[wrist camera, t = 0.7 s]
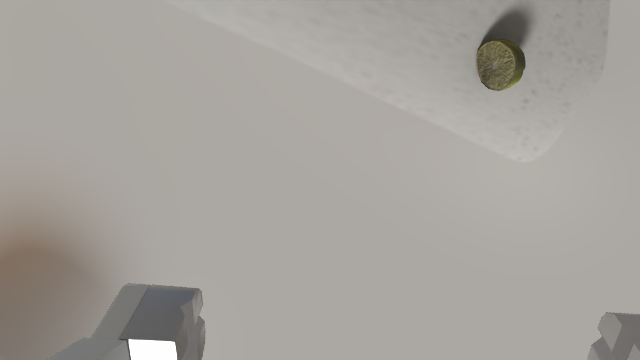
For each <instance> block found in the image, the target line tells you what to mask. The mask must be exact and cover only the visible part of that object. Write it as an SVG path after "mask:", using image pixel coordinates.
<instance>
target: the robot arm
mask: <svg viewBox="0 0 640 360" xmlns="http://www.w3.org/2000/svg"><path fill="white" fill-rule="evenodd" d="M202 306H203V300H202V292H201V290H200V289H199V288H187V287H175V286H162V285H146V284H132V283H128V284H126V285H125V286H123V287H122V289H121V290H120V292H119V293H118V295H117V297H116V298H115V300H114V302H113V303H112V304H111V306H110V308H109V309H108V311H107V313H106V314H105V316H104V317H103V319H102V321H101V323H100V324H99V325H98V327H97V328H96V330H95V332H94V333H93V335H92V337H91V338H82V339H80V340H79V341H77V342H75V343H73V344H72V345H70V346H68V347H67V348H65V349H63V350H62V351H60V352H58V353H57V354H55V355H53V356H51V357H50V358H48V359H46V360H201V359H202V356H203V350H204V344H205V321H204V320H203V319H202V318H201V317H200V316H199V314H200V311H201V309H202ZM598 329H599V331H600V333H601V335H602V337H601V338H600V339H599V340H597V341H596V342H595V343H593V344H592V345H591V349H590V352H589V355H588V360H640V314H626V313H608V312H606V314H605V315H604V316H603V317H602V318H601V320H600V323H599V326H598Z"/></svg>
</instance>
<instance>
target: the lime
mask: <svg viewBox="0 0 640 360" xmlns="http://www.w3.org/2000/svg"><path fill="white" fill-rule="evenodd" d="M476 66H477V71H478V74H479V77H480V79H481V82H482V83H483V84H484V85H485V86H486V87H487V88H488V89H491V90H497V91H501V90H504V89H507V88H509V87H511V86H512V85H514V84H515V83H517V82H518V81H519V80H520V79H521V77H522V74H523V70H524V69H525V56H524V53H523V51H522V50H521V49H520V47H519V46H517V45H516V44H515V43H513V42H511V41H508V40H492V41H489V42H487V43H485V44H484V45H482V46H481V48H480V49H479V50H478V53H477V59H476Z"/></svg>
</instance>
